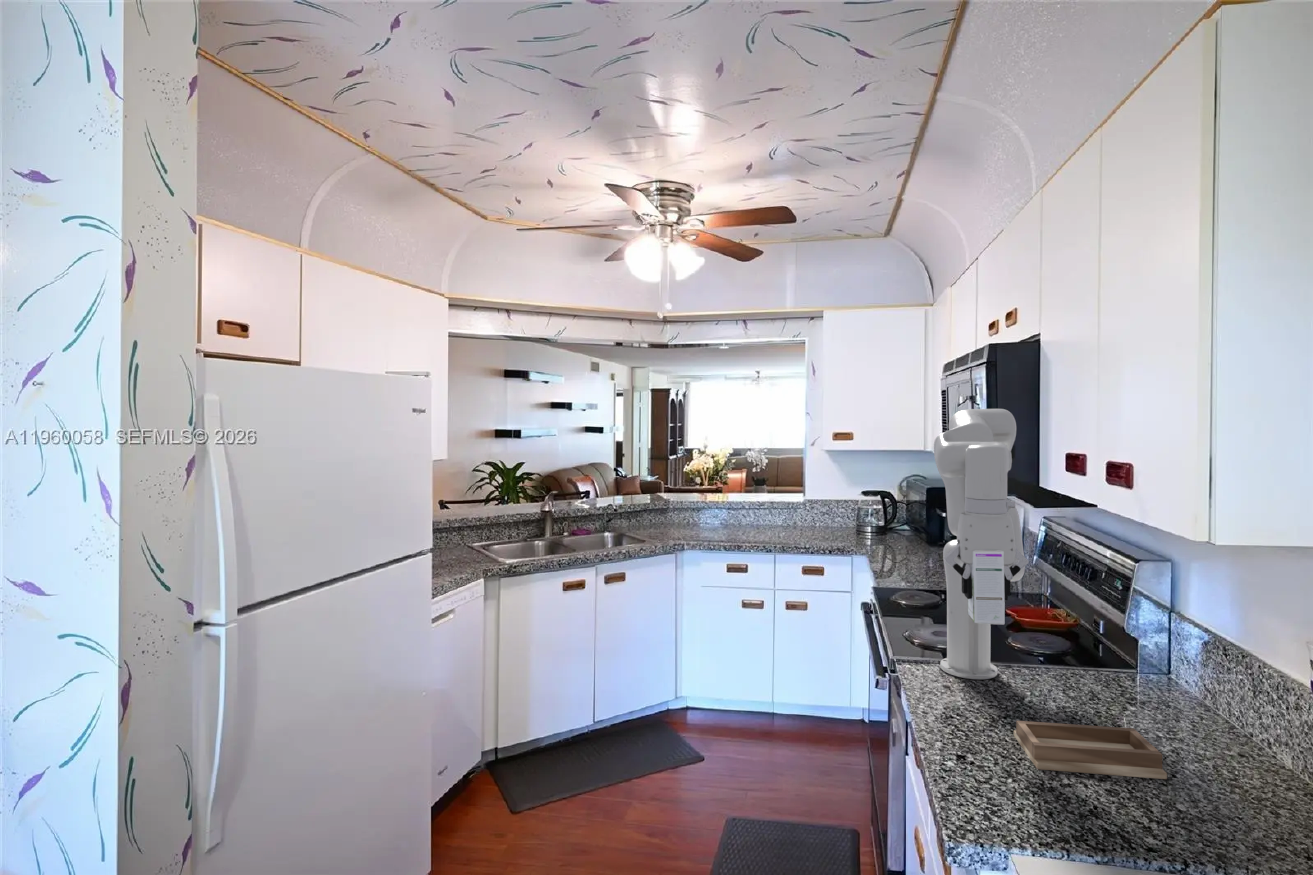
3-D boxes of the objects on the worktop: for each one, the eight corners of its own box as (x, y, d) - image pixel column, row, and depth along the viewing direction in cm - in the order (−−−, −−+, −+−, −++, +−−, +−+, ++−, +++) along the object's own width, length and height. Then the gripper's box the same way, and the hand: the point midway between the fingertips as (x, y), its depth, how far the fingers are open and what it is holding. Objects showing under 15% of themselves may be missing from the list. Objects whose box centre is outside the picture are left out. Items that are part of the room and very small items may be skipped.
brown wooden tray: (1013, 735, 133) (1013, 717, 133) (1129, 743, 129) (1129, 724, 129) (1037, 769, 120) (1037, 749, 120) (1166, 779, 116) (1167, 758, 116)
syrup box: (1005, 625, 134) (1006, 550, 134) (973, 623, 135) (973, 549, 135) (997, 616, 140) (997, 544, 139) (966, 615, 141) (966, 544, 140)
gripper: (1027, 505, 139) (1026, 594, 139) (935, 504, 142) (935, 591, 143) (1040, 510, 132) (1039, 604, 132) (943, 509, 135) (943, 601, 135)
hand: (985, 597), depth 137 cm, fingers closed on syrup box, 5 cm apart
